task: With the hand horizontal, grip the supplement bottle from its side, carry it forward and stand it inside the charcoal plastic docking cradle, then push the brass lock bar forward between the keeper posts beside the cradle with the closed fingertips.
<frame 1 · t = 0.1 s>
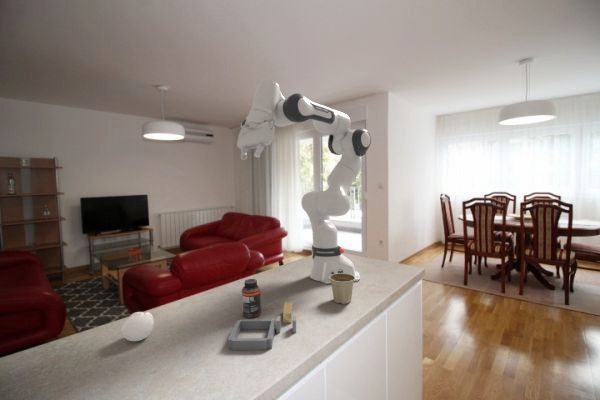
hand: (249, 158, 100), 52 cm above the kitchen counter, tool tilted 20°, fingers open, 8 cm apart
dock: (253, 337, 78), on the kitchen counter
lock bar: (288, 312, 89), point 1 cm above the kitchen counter, slide at 0.0 cm
supplement bottle: (251, 315, 92), on the kitchen counter
flower pot: (342, 301, 101), on the kitchen counter
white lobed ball: (139, 339, 78), on the kitchen counter
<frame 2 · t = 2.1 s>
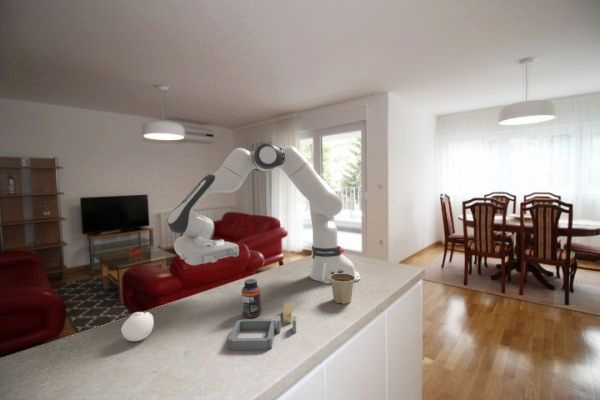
hand: (226, 256, 98), 17 cm above the kitchen counter, tool horizontal, fingers open, 8 cm apart
nothing on the kitchen counter moved.
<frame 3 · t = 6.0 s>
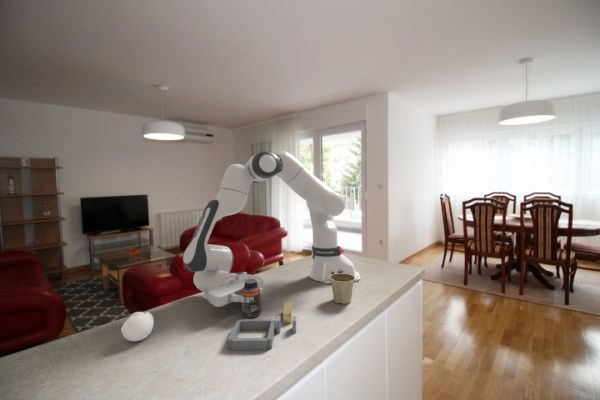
hand: (253, 295, 91), 7 cm above the kitchen counter, tool horizontal, fingers closed on supplement bottle, 6 cm apart
supplement bottle: (251, 314, 92), on the kitchen counter, touching gripper
everything else where it was.
when the fingers open (8 cm above the kitchen counter, at t = 11.7 s): supplement bottle moves 1 cm, resting in dock.
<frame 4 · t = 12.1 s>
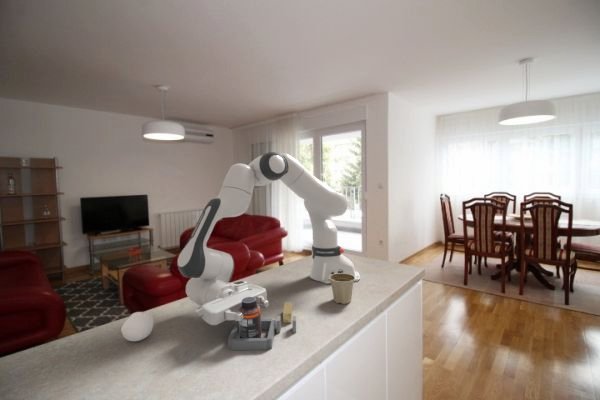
hand: (254, 310, 77), 8 cm above the kitchen counter, tool horizontal, fingers open, 8 cm apart
supplement bottle: (250, 340, 77), resting in dock
everything else where it was.
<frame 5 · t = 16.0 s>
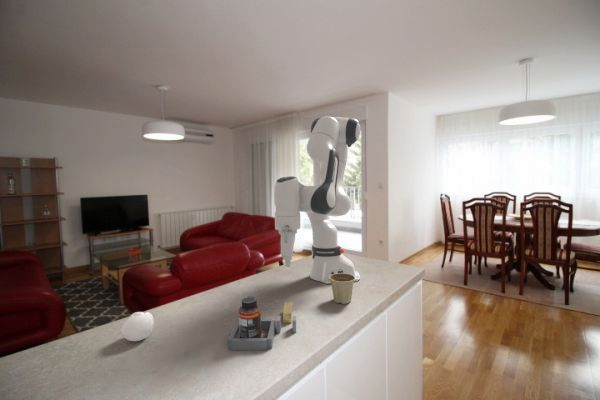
hand: (288, 262, 98), 15 cm above the kitchen counter, tool pointing down, fingers open, 6 cm apart
nothing on the kitchen counter moved.
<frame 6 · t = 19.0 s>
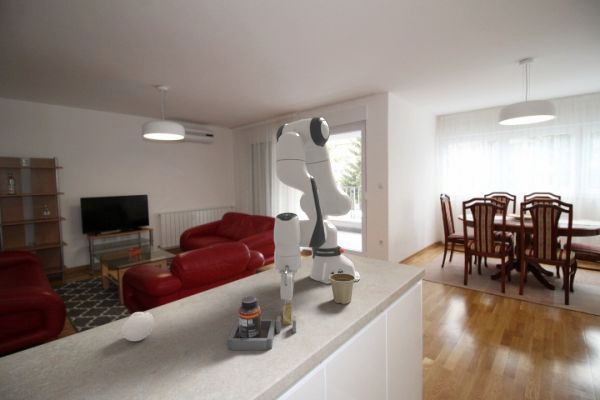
hand: (288, 302, 94), 3 cm above the kitchen counter, tool pointing down, fingers closed
lock bar: (287, 313, 89), point 2 cm above the kitchen counter, slide at 0.7 cm, touching gripper
everything else where it was.
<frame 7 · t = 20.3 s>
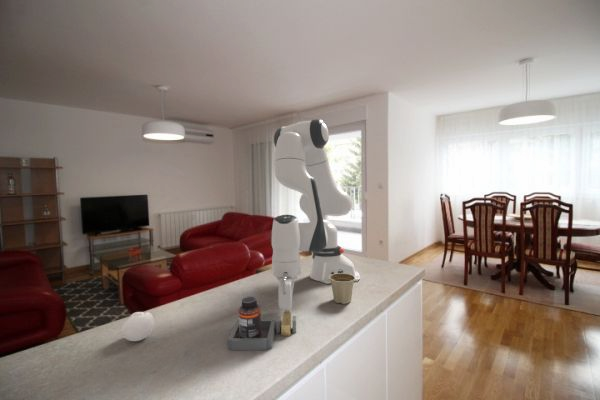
hand: (287, 311, 88), 3 cm above the kitchen counter, tool pointing down, fingers closed
lock bar: (286, 323, 82), point 1 cm above the kitchen counter, slide at 7.0 cm, touching gripper
everything else where it was.
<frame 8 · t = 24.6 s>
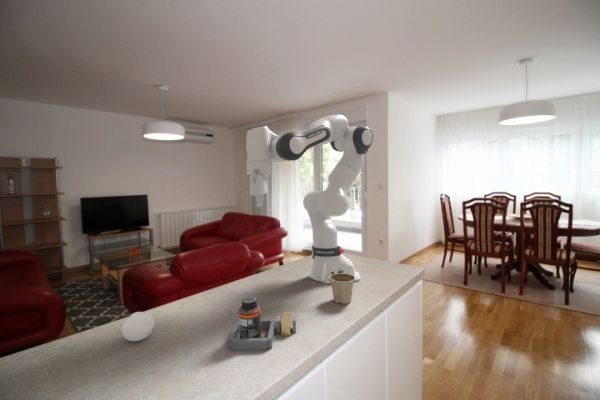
hand: (259, 206, 106), 34 cm above the kitchen counter, tool pointing down, fingers closed
lock bar: (286, 323, 82), point 1 cm above the kitchen counter, slide at 7.0 cm
everything else where it was.
at the end: supplement bottle 0.9 cm off-centre on the dock, point 0.0 cm above the dock's base; supplement bottle tilted 0°; lock bar slide at 7.0 cm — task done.
